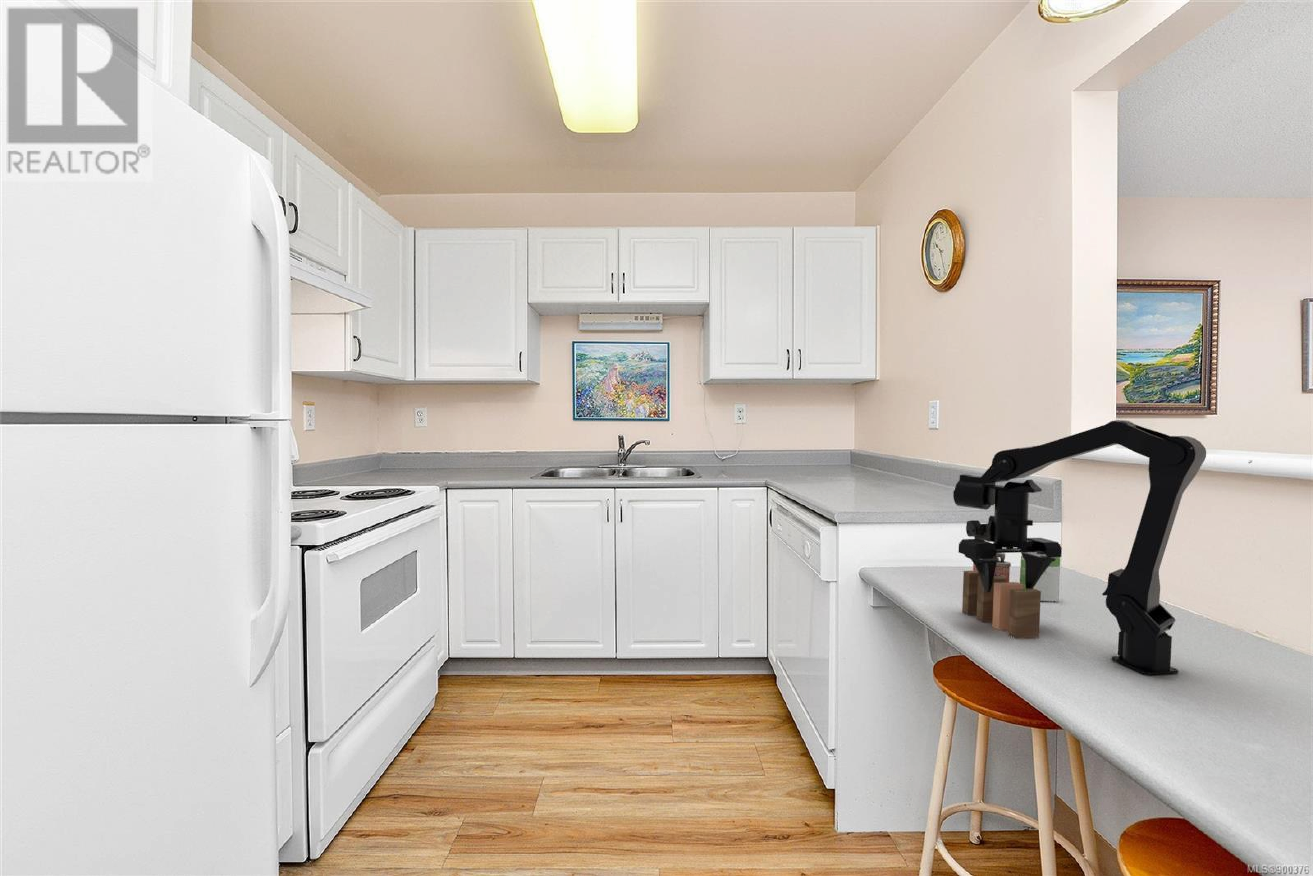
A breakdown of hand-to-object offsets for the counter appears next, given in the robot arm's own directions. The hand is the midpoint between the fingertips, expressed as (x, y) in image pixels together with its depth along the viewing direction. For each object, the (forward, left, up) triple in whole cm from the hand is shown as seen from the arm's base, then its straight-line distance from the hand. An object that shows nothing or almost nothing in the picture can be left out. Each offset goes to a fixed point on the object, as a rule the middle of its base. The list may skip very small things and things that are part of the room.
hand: (1008, 591), depth 118 cm
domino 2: (+5, 0, -8) cm, 9 cm away
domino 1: (+9, 0, -8) cm, 12 cm away
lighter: (+24, -15, -8) cm, 29 cm away
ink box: (+17, -22, -8) cm, 29 cm away
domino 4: (-4, 0, -8) cm, 9 cm away
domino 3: (0, 0, -8) cm, 8 cm away
